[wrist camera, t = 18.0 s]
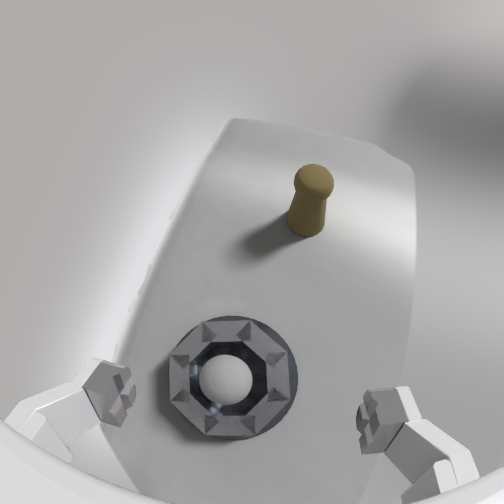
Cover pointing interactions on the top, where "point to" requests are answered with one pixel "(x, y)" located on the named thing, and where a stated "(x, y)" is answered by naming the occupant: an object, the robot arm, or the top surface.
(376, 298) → the top surface
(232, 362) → the light bulb
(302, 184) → the cork
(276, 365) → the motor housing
